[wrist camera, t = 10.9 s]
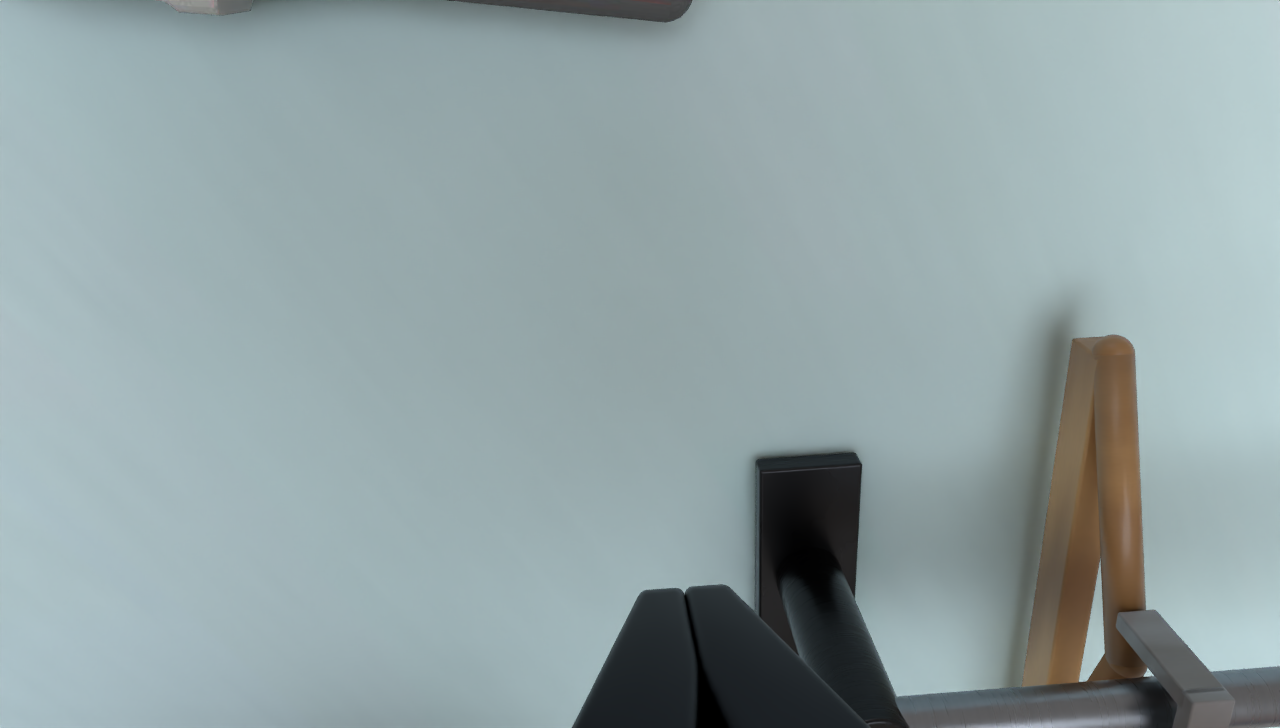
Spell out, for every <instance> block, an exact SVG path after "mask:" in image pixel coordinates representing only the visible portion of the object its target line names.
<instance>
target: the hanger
mask: <svg viewBox="0 0 1280 728" xmlns="http://www.w3.org/2000/svg"><path fill="white" fill-rule="evenodd" d="M1100 556H1101V576H1102V599H1103V621H1104V644H1105V654H1104V655H1103V657H1102V659H1101V660H1100V662H1099V663H1098V665H1097V666H1096V668H1095V669H1094V671H1093V673H1092V674H1091V676H1090V677H1089V679H1088V680H1087V682H1088V681H1101V680H1113V679H1126V678H1138V677H1143V675H1144V674H1145V673H1146V671H1147V668H1149V670H1150V671H1151V672H1152V673H1153V675H1154V676H1155V677H1156V678H1157V680H1158V681H1159V682H1160V683H1161V685H1162V686H1163V687H1164V688H1165V690H1166V691H1167V692H1168V693H1169V695H1170V696H1171V697H1172V698H1173V699H1174V701H1175V702H1176V703H1177V704H1178V706H1177V710H1176V715H1175V719H1174V723H1173V728H1229V724H1230V720H1231V716H1232V712H1233V709H1234V705H1235V699H1234V698H1233V697H1232V696H1231V695H1230V693H1229V692H1228V691H1227V690H1226V689H1225V688H1224V687H1223V686H1222V684H1221V683H1220V682H1219V681H1218V680H1217V679H1216V678H1215V676H1214V675H1213V674H1212V673H1211V672H1210V671H1209V670H1208V669H1207V667H1206V666H1205V665H1204V664H1203V663H1202V662H1201V661H1200V660H1199V658H1198V657H1197V656H1196V655H1195V654H1194V653H1193V652H1192V650H1191V649H1190V648H1189V647H1188V646H1187V645H1186V644H1185V643H1184V641H1183V640H1182V639H1181V638H1180V637H1179V636H1178V635H1177V634H1176V632H1175V631H1174V630H1173V629H1172V628H1171V627H1170V626H1169V624H1168V623H1167V622H1166V621H1165V620H1164V619H1163V618H1162V617H1161V615H1160V614H1159V613H1158V612H1157V611H1156V610H1146V600H1145V577H1144V553H1143V530H1142V506H1141V483H1140V459H1139V436H1138V412H1137V389H1136V365H1135V350H1134V347H1133V345H1132V344H1131V342H1130V341H1129V340H1128V339H1126V338H1125V337H1122V336H1119V335H1107V336H1104V337H1089V338H1075V339H1073V340H1072V344H1071V351H1070V358H1069V365H1068V372H1067V379H1066V385H1065V392H1064V399H1063V406H1062V413H1061V420H1060V427H1059V433H1058V440H1057V447H1056V454H1055V461H1054V468H1053V475H1052V481H1051V488H1050V495H1049V502H1048V509H1047V516H1046V523H1045V529H1044V536H1043V543H1042V550H1041V557H1040V564H1039V571H1038V577H1037V584H1036V591H1035V598H1034V605H1033V612H1032V619H1031V625H1030V632H1029V639H1028V646H1027V653H1026V660H1025V667H1024V673H1023V680H1022V687H1025V686H1038V685H1050V684H1063V683H1075V682H1079V676H1080V670H1081V664H1082V659H1083V653H1084V647H1085V642H1086V636H1087V630H1088V625H1089V619H1090V613H1091V608H1092V602H1093V596H1094V591H1095V585H1096V579H1097V574H1098V568H1099V562H1100Z"/></svg>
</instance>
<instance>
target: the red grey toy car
mask: <svg viewBox="0 0 1280 728" xmlns="http://www.w3.org/2000/svg"><path fill="white" fill-rule="evenodd" d="M156 1H164V2H166V3H167V4H168V5H170V6H171V7H173V8H174V9H175V10H177V11H178V12H183V13H196V14H209V15H221V16H222V15H228V14H234V13H240V12H246V11H251V8H252V4H253V0H156ZM449 1H459V2H469V3H479V4H489V5H499V6H509V7H519V8H529V9H538V10H548V11H558V12H568V13H578V14H588V15H598V16H608V17H618V18H628V19H638V20H648V21H657V22H670V21H673V20H676V19H678V18H680V17H681V16H682V15H683V14H684V13H685V12H686V11H687V10H688V8H689V7H690V5H691V3H692V0H449Z"/></svg>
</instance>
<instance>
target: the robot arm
mask: <svg viewBox="0 0 1280 728" xmlns="http://www.w3.org/2000/svg"><path fill="white" fill-rule="evenodd" d="M572 728H871V727H870V726H869V725H868V724H867V723H866V722H865V721H864V720H863V719H862V718H861V717H860V716H859V715H858V714H857V713H856V712H855V711H854V710H853V709H852V708H851V707H850V706H849V705H848V704H847V703H845V702H844V701H843V700H842V699H841V698H840V697H839V696H838V695H837V694H836V693H835V692H834V691H833V690H832V689H831V688H830V687H829V686H828V685H827V684H826V683H825V682H824V681H823V680H822V679H821V678H820V677H819V676H818V675H817V674H816V673H815V672H814V671H813V670H812V669H811V668H810V667H809V666H808V665H807V664H806V663H805V662H804V661H803V660H802V659H801V658H800V657H799V656H798V655H797V654H796V653H795V652H794V651H793V650H792V649H791V648H790V647H789V646H788V645H787V644H786V643H785V642H784V641H783V640H782V639H781V638H780V637H779V636H778V635H777V634H776V633H775V632H774V631H773V630H772V629H771V628H770V627H769V626H768V625H767V624H766V623H765V622H764V621H763V620H762V619H761V618H760V617H759V616H758V615H757V614H756V613H755V612H754V611H753V610H752V609H751V608H750V607H749V606H748V605H747V604H746V603H745V602H744V601H743V600H742V599H741V598H740V597H739V596H738V595H737V594H736V593H735V592H734V591H733V590H732V589H731V588H730V587H728V586H726V585H722V584H720V585H707V586H694V587H689V588H688V589H686V591H685V595H684V593H683V591H682V590H681V589H679V588H667V589H653V590H645V591H643V592H641V593H640V594H639V596H638V598H637V600H636V602H635V604H634V606H633V608H632V609H631V611H630V613H629V615H628V617H627V619H626V621H625V623H624V625H623V627H622V629H621V631H620V633H619V635H618V637H617V639H616V641H615V643H614V645H613V647H612V649H611V651H610V653H609V655H608V657H607V659H606V661H605V663H604V665H603V667H602V669H601V671H600V673H599V675H598V677H597V679H596V681H595V683H594V685H593V687H592V689H591V691H590V693H589V695H588V697H587V699H586V701H585V703H584V705H583V707H582V709H581V711H580V713H579V715H578V717H577V719H576V721H575V723H574V725H573V727H572Z"/></svg>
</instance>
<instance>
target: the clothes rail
mask: <svg viewBox="0 0 1280 728" xmlns="http://www.w3.org/2000/svg"><path fill="white" fill-rule="evenodd" d="M861 474H862V464H861V462H860V460H859V458H858V456H857V455H856V453H842V454H828V455H814V456H800V457H785V458H771V459H758V460H757V461H756V554H755V613H756V614H757V615H758V616H759V617H760V618H761V619H762V620H763V621H764V622H765V623H766V624H767V625H768V626H769V627H770V628H771V629H772V630H773V631H774V632H775V633H776V634H777V635H778V636H779V637H780V638H781V639H782V640H783V641H784V642H785V643H786V644H787V645H788V646H789V647H790V648H791V649H792V650H793V651H794V652H795V653H796V654H797V655H798V656H799V657H800V658H801V659H802V660H803V661H804V662H805V663H806V664H807V665H808V666H809V667H810V668H811V669H812V670H813V671H814V672H815V673H816V674H817V675H818V676H819V677H820V678H821V679H822V680H823V681H824V682H825V683H826V684H827V685H828V686H829V687H830V688H831V689H832V690H833V691H834V692H835V693H836V694H837V695H838V696H839V697H840V698H841V699H842V700H843V701H844V702H845V703H847V704H848V705H849V706H850V707H851V708H852V709H853V710H854V711H855V712H856V713H857V714H858V715H859V716H860V717H861V718H862V719H863V720H864V721H865V722H866V723H867V724H868V725H869V726H870V727H871V728H1173V723H1174V719H1175V715H1176V710H1177V706H1178V704H1177V703H1176V702H1175V701H1174V699H1173V698H1172V697H1171V696H1170V695H1169V693H1168V692H1167V691H1166V690H1165V688H1164V687H1163V686H1162V685H1161V683H1160V682H1159V681H1158V680H1157V678H1156V677H1155V676H1151V677H1138V678H1126V679H1113V680H1101V681H1088V682H1075V683H1063V684H1050V685H1038V686H1025V687H1013V688H1000V689H987V690H975V691H962V692H950V693H937V694H925V695H912V696H899V697H897V696H896V694H895V692H894V690H893V687H892V685H891V683H890V680H889V678H888V676H887V673H886V671H885V669H884V666H883V664H882V662H881V659H880V657H879V655H878V652H877V650H876V648H875V645H874V643H873V641H872V638H871V636H870V634H869V631H868V629H867V627H866V624H865V622H864V620H863V617H862V615H861V613H860V611H859V608H858V606H857V604H856V601H855V586H856V567H857V549H858V530H859V511H860V493H861ZM1211 673H1212V674H1213V675H1214V676H1215V678H1216V679H1217V680H1218V681H1219V682H1220V683H1221V684H1222V686H1223V687H1224V688H1225V689H1226V690H1227V691H1228V692H1229V693H1230V695H1231V696H1232V697H1233V698H1234V699H1235V705H1234V709H1233V712H1232V716H1231V720H1230V724H1229V728H1268V727H1280V666H1277V667H1264V668H1252V669H1239V670H1226V671H1214V672H1211Z"/></svg>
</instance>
